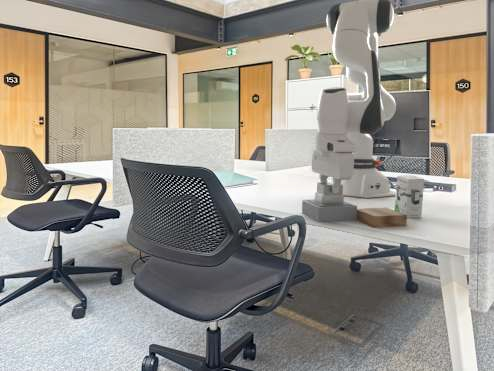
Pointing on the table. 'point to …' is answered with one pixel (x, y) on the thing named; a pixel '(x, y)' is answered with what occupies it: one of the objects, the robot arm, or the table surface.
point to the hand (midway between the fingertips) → (329, 191)
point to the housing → (328, 194)
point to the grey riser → (329, 211)
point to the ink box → (409, 195)
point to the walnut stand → (381, 217)
